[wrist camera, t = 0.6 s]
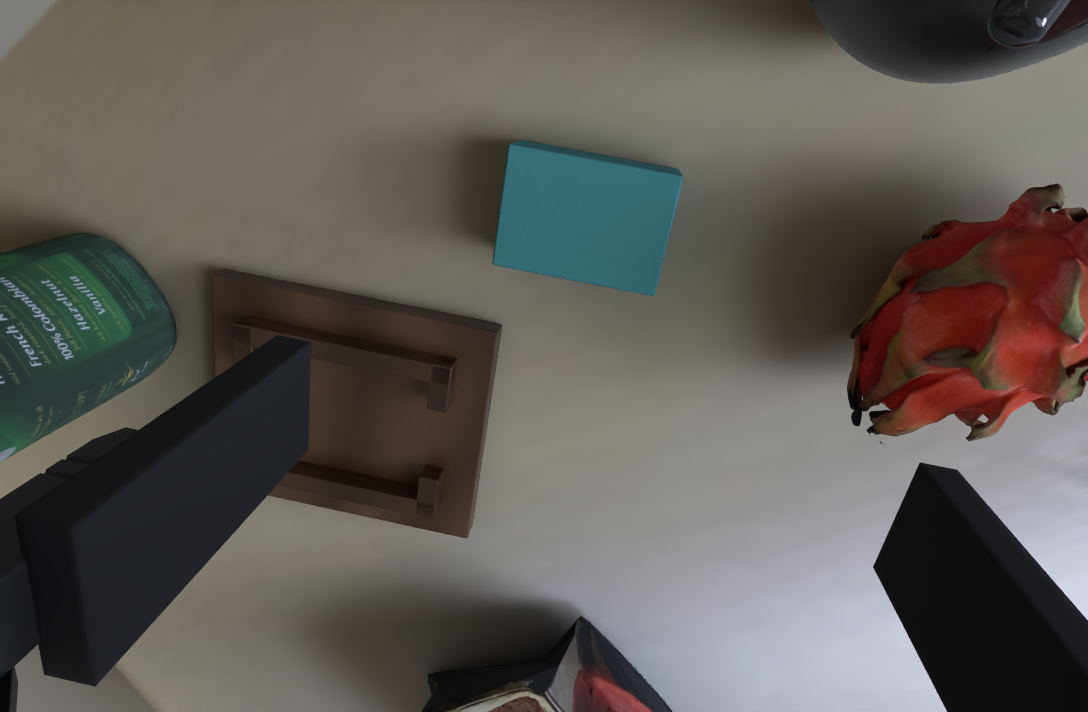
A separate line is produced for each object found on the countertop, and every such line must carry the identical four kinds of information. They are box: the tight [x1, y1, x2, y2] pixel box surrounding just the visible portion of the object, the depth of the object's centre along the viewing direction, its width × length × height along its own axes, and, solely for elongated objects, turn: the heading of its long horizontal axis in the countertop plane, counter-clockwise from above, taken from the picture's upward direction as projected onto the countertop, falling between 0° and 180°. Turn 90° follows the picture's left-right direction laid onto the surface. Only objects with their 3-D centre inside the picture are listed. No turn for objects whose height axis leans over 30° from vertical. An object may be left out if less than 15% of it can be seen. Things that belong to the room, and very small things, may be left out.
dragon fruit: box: [847, 184, 1088, 444], centre depth 25 cm, size 8×8×12 cm
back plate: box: [212, 269, 502, 538], centre depth 33 cm, size 14×12×2 cm
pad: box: [492, 140, 683, 296], centre depth 28 cm, size 7×5×3 cm
